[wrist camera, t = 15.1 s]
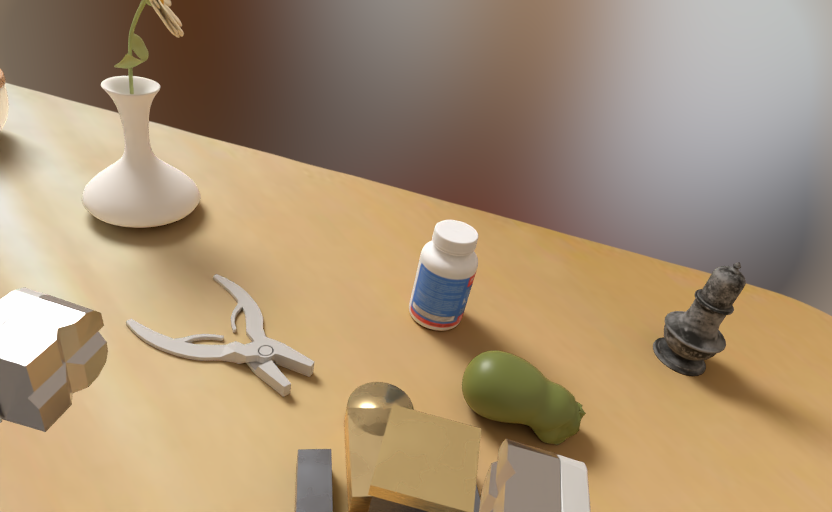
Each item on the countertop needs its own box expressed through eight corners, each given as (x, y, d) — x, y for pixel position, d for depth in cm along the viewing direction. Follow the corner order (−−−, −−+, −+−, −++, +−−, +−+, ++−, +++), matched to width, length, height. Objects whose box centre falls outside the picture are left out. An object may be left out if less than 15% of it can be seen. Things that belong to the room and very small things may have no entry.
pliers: (218, 265, 52) (340, 342, 46) (218, 278, 53) (338, 355, 47) (121, 314, 44) (253, 412, 39) (123, 329, 45) (253, 426, 40)
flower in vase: (178, 246, 55) (157, -24, 41) (61, 227, 54) (-1, -57, 40) (219, 187, 66) (214, -43, 52) (122, 170, 65) (91, -69, 51)
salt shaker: (694, 340, 58) (753, 249, 51) (718, 382, 53) (787, 287, 46) (642, 332, 57) (695, 239, 51) (661, 373, 53) (723, 276, 46)
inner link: (343, 398, 43) (345, 381, 42) (404, 399, 44) (408, 382, 43) (348, 514, 35) (352, 496, 34) (422, 510, 36) (428, 494, 35)
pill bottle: (465, 334, 52) (492, 252, 47) (411, 331, 51) (431, 246, 45) (456, 298, 56) (479, 218, 51) (405, 294, 55) (424, 212, 50)
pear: (484, 327, 45) (594, 378, 45) (459, 368, 48) (562, 416, 47) (473, 373, 40) (596, 431, 40) (446, 415, 43) (560, 469, 43)
